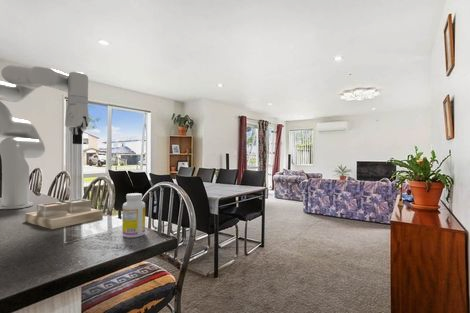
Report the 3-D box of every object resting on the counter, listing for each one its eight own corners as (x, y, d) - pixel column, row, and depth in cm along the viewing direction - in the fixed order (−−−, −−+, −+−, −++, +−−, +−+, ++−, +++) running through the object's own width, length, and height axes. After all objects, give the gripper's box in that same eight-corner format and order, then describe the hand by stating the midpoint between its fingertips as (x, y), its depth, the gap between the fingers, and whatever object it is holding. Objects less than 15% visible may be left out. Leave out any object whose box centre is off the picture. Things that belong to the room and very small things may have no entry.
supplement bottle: (137, 230, 87) (138, 192, 87) (149, 234, 82) (149, 194, 82) (118, 235, 81) (118, 194, 81) (129, 240, 77) (129, 196, 77)
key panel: (25, 221, 95) (25, 203, 95) (75, 212, 110) (75, 196, 110) (52, 229, 86) (52, 209, 86) (102, 218, 102) (102, 201, 102)
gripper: (59, 101, 114) (58, 143, 114) (79, 98, 106) (78, 143, 107) (76, 104, 120) (75, 144, 120) (96, 102, 113) (96, 144, 113)
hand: (77, 143), depth 113 cm, fingers closed
